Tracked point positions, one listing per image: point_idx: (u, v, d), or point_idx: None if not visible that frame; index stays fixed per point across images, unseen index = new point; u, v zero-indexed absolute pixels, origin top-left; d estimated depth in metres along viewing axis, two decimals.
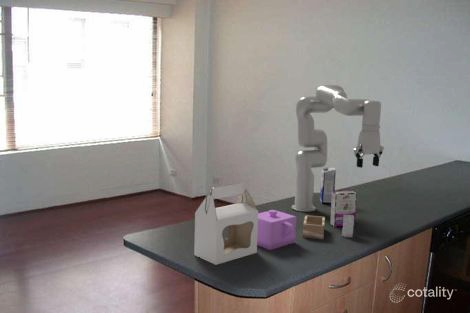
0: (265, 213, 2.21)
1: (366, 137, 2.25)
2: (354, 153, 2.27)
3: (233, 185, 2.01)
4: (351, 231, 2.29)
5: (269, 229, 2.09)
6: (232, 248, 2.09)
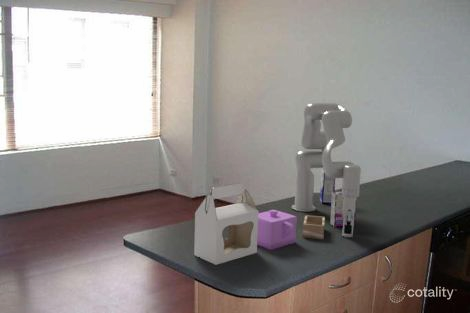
0: (266, 213, 2.21)
1: (354, 202, 2.25)
2: (346, 221, 2.26)
3: (233, 185, 2.01)
4: None
5: (269, 229, 2.10)
6: (232, 248, 2.09)
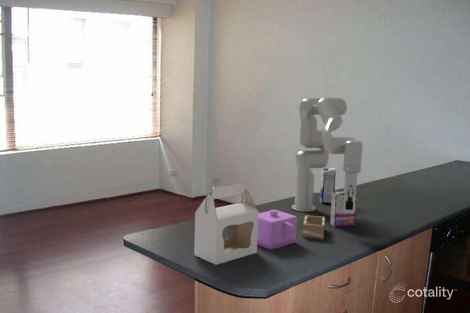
0: (266, 213, 2.21)
1: (356, 178, 2.23)
2: (348, 197, 2.24)
3: (233, 185, 2.01)
4: (353, 207, 2.28)
5: (269, 229, 2.10)
6: (232, 248, 2.09)
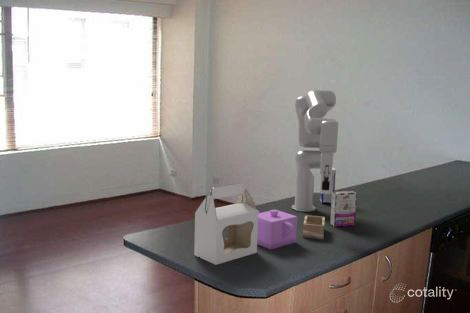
0: (267, 213, 2.21)
1: (332, 158, 2.23)
2: (324, 177, 2.24)
3: (233, 185, 2.01)
4: (329, 187, 2.27)
5: (269, 229, 2.10)
6: (232, 248, 2.09)
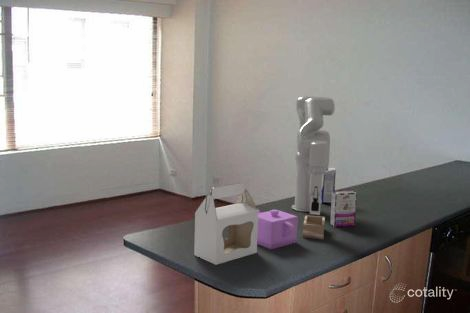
0: (267, 213, 2.21)
1: (321, 179, 2.25)
2: (313, 198, 2.26)
3: (233, 185, 2.01)
4: None
5: (270, 229, 2.10)
6: (232, 248, 2.09)
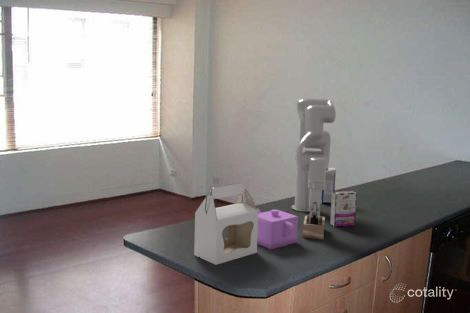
0: (268, 213, 2.21)
1: (320, 195, 2.27)
2: (312, 214, 2.26)
3: (233, 185, 2.01)
4: None
5: (270, 228, 2.10)
6: (232, 248, 2.09)
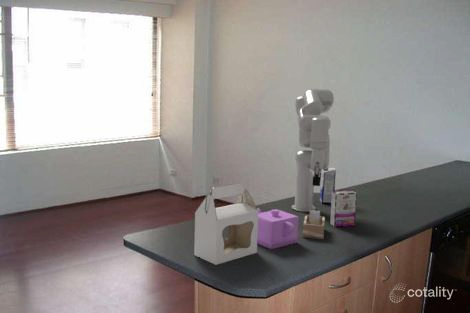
0: (268, 213, 2.21)
1: (322, 155, 2.24)
2: (314, 172, 2.22)
3: (233, 185, 2.01)
4: None
5: (270, 228, 2.10)
6: (232, 248, 2.09)
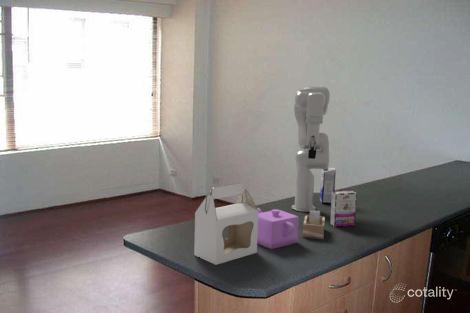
0: (268, 213, 2.22)
1: (318, 129, 2.33)
2: (310, 145, 2.31)
3: (233, 185, 2.01)
4: None
5: (270, 228, 2.10)
6: (232, 248, 2.09)
